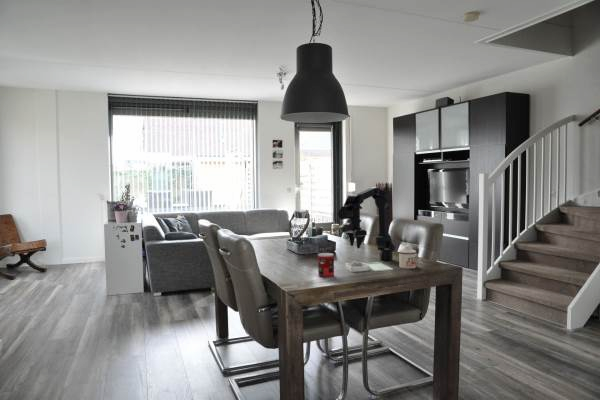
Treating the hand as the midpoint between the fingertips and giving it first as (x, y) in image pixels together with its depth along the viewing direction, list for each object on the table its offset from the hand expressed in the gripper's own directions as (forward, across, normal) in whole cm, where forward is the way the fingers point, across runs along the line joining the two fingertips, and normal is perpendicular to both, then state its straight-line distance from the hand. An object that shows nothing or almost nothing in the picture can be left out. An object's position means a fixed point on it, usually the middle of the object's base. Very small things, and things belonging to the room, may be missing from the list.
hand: (355, 247), depth 229 cm
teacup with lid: (+12, +6, +29) cm, 32 cm away
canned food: (+12, +8, -19) cm, 24 cm away
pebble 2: (+11, +4, 0) cm, 12 cm away
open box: (+12, +2, 0) cm, 12 cm away
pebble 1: (+11, 0, 0) cm, 11 cm away
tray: (+12, +2, +12) cm, 17 cm away
